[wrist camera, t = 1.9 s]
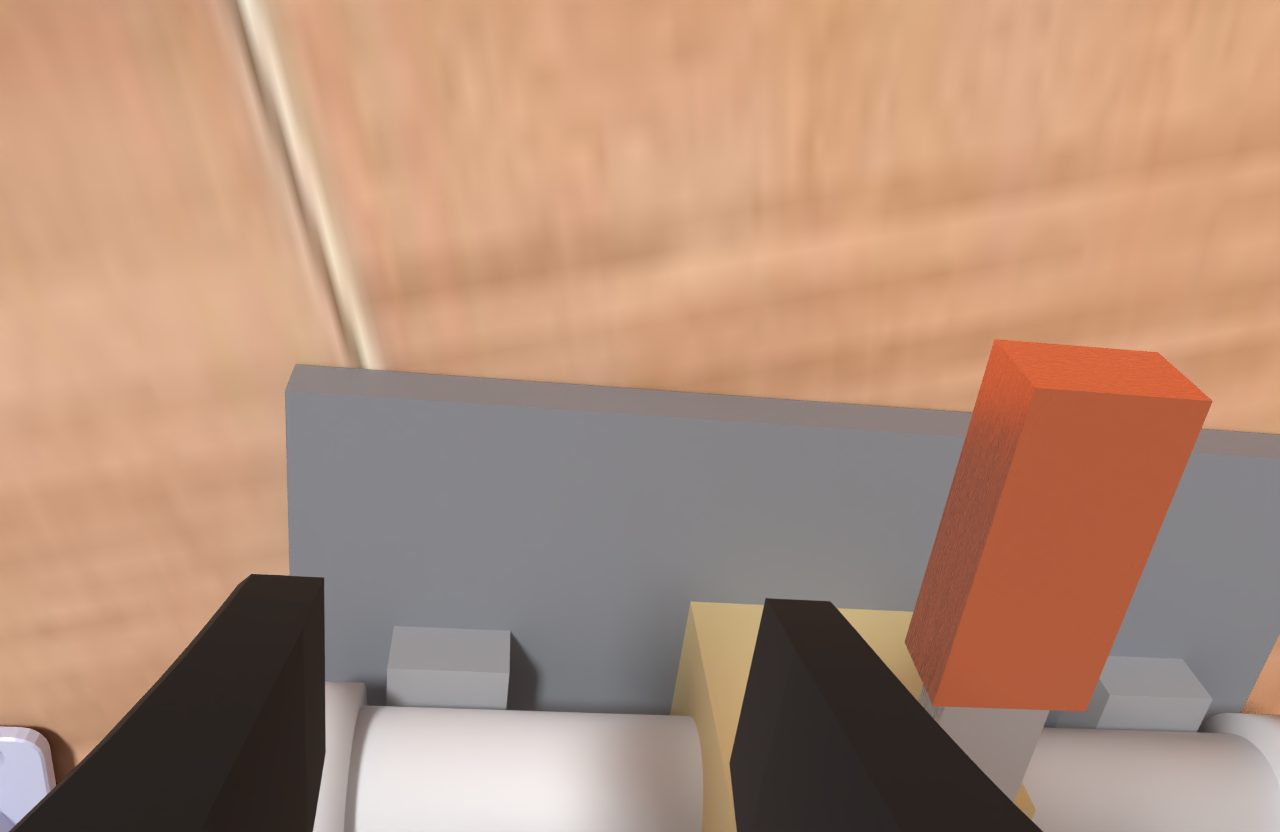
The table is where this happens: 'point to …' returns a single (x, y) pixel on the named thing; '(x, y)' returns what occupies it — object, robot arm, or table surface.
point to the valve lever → (1045, 539)
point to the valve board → (712, 602)
